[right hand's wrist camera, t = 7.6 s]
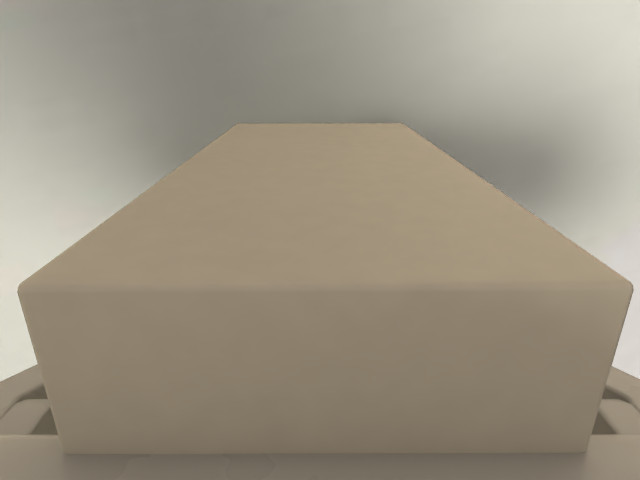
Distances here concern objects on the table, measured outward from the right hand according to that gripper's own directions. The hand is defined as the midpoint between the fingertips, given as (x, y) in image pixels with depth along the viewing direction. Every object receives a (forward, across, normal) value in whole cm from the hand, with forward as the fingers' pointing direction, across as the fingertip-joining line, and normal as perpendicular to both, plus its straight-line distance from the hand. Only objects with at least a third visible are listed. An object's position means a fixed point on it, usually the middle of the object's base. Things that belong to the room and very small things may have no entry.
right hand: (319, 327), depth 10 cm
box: (+7, 0, +9) cm, 11 cm away
